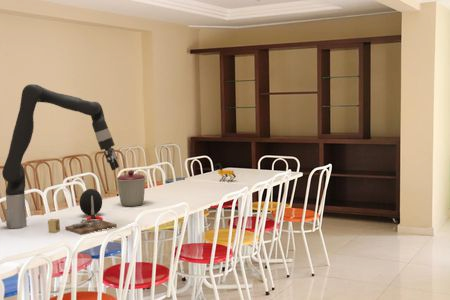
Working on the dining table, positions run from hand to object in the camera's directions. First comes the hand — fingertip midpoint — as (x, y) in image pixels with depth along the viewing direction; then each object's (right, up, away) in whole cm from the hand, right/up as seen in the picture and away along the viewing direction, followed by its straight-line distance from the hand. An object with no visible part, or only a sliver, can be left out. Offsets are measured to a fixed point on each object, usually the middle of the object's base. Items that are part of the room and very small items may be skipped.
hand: (115, 168), depth 305 cm
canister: (0, -24, +54) cm, 59 cm away
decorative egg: (-18, -27, +27) cm, 43 cm away
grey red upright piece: (-14, -28, +15) cm, 35 cm away
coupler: (-29, -31, -9) cm, 43 cm away
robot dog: (+55, -14, +134) cm, 146 cm away
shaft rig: (-12, -30, -4) cm, 32 cm away
